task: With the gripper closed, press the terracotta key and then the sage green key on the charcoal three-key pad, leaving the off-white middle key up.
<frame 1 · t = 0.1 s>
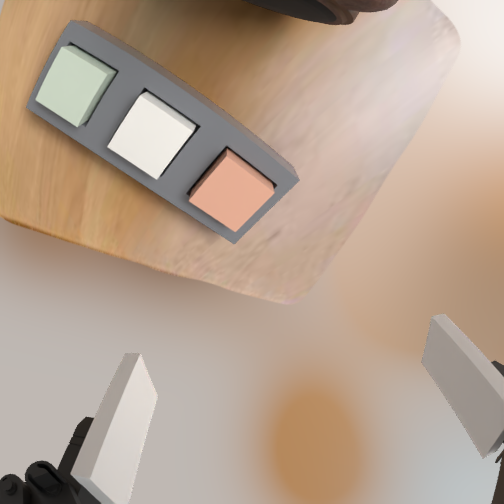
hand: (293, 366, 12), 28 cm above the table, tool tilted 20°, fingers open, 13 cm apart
key sage: (75, 84, 24), point 4 cm above the table, slide at 0.0 cm
key offwhite: (151, 134, 28), point 4 cm above the table, slide at 0.0 cm
key terracotta: (231, 190, 33), point 4 cm above the table, slide at 0.0 cm
keypad: (160, 124, 32), on the table
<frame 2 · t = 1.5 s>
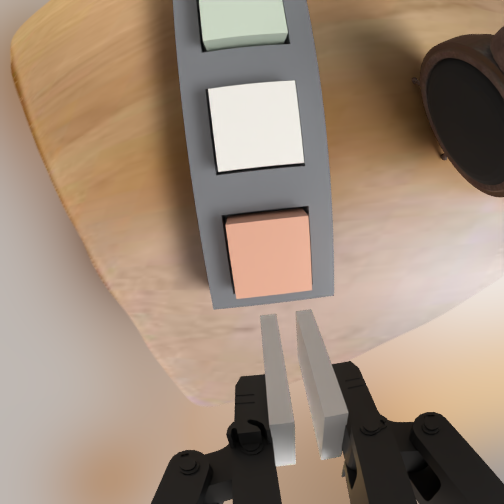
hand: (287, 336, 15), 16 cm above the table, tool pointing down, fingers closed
key sage: (241, 10, 19), point 4 cm above the table, slide at 0.0 cm
key offwhite: (255, 125, 23), point 4 cm above the table, slide at 0.0 cm
key terracotta: (269, 252, 26), point 4 cm above the table, slide at 0.0 cm
alarm clock: (438, 117, 26), on the table
keypad: (254, 128, 27), on the table
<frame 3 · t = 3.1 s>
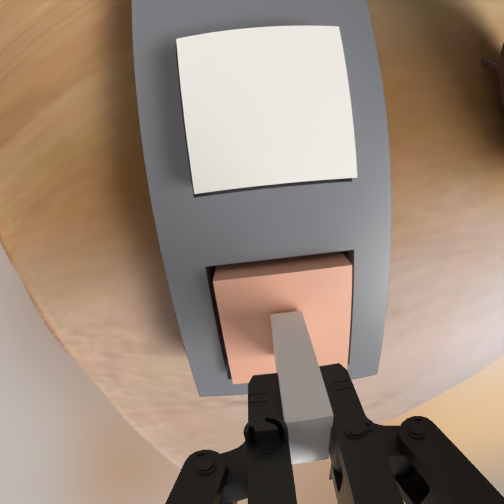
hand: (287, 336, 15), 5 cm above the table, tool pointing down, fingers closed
key offwhite: (266, 106, 12), point 4 cm above the table, slide at 0.0 cm
key terracotta: (284, 316, 16), point 3 cm above the table, slide at 0.9 cm, touching gripper
keypad: (261, 116, 16), on the table
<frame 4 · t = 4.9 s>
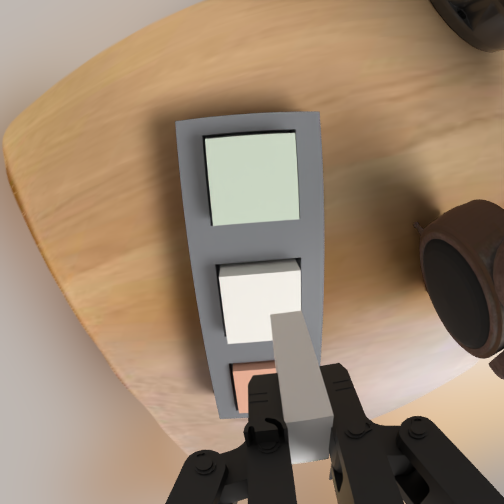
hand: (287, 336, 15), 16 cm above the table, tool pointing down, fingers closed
key sage: (252, 177, 23), point 4 cm above the table, slide at 0.0 cm
key offwhite: (261, 301, 27), point 4 cm above the table, slide at 0.0 cm
key terracotta: (266, 382, 31), point 3 cm above the table, slide at 1.0 cm
alarm clock: (431, 254, 31), on the table
keypad: (258, 281, 31), on the table
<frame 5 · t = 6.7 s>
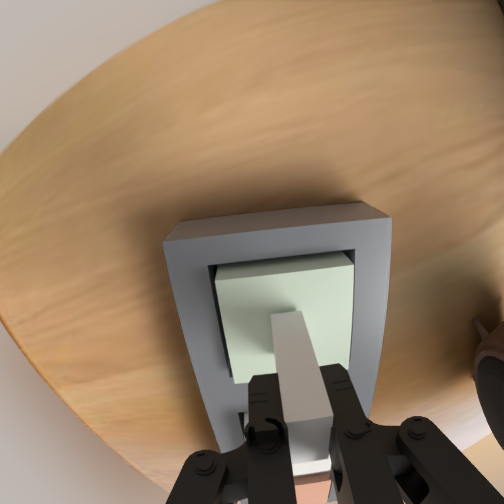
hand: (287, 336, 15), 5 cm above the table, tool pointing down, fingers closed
key sage: (286, 316, 16), point 3 cm above the table, slide at 0.8 cm, touching gripper
key offwhite: (294, 440, 19), point 4 cm above the table, slide at 0.0 cm
key terracotta: (294, 486, 23), point 3 cm above the table, slide at 1.0 cm
alarm clock: (484, 342, 22), on the table
keypad: (288, 400, 23), on the table
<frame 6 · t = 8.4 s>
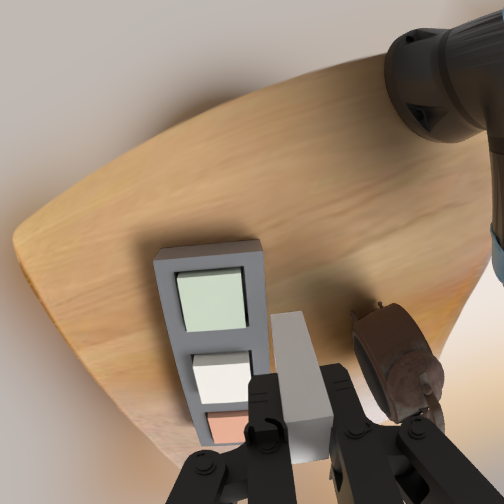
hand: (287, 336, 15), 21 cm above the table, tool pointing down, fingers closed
key sage: (213, 297, 33), point 3 cm above the table, slide at 1.0 cm
key offwhite: (224, 376, 35), point 4 cm above the table, slide at 0.0 cm
key terracotta: (233, 423, 40), point 3 cm above the table, slide at 1.0 cm
alarm clock: (368, 330, 40), on the table
keypad: (224, 355, 39), on the table
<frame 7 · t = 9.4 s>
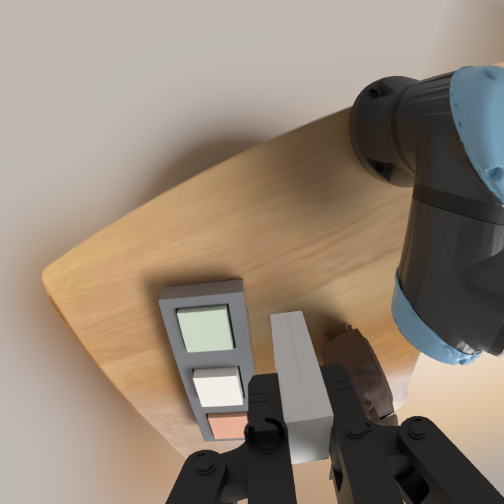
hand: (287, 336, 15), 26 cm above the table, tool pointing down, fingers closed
key sage: (206, 326, 41), point 3 cm above the table, slide at 1.0 cm
key offwhite: (219, 385, 44), point 4 cm above the table, slide at 0.0 cm
key terracotta: (230, 422, 48), point 3 cm above the table, slide at 1.0 cm
alarm clock: (342, 347, 47), on the table
keypad: (220, 367, 48), on the table
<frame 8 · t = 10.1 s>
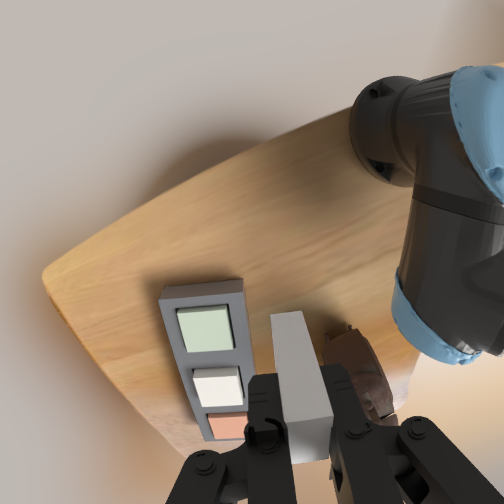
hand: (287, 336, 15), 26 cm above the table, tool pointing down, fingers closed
key sage: (206, 326, 41), point 3 cm above the table, slide at 1.0 cm
key offwhite: (219, 385, 44), point 4 cm above the table, slide at 0.0 cm
key terracotta: (230, 422, 48), point 3 cm above the table, slide at 1.0 cm
alarm clock: (342, 347, 47), on the table
keypad: (220, 367, 48), on the table
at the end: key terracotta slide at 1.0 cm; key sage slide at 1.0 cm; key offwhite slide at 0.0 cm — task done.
